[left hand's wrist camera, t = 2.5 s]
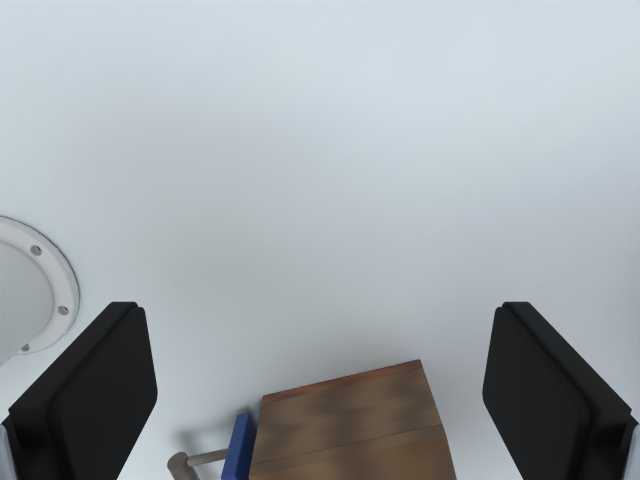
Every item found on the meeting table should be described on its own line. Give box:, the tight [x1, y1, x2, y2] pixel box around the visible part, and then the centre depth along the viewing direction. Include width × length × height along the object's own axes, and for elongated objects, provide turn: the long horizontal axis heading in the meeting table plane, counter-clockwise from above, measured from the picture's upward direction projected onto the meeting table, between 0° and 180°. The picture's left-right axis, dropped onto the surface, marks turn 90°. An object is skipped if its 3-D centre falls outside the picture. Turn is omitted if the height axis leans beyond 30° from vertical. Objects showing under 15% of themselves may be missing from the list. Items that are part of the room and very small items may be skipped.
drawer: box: [167, 413, 257, 480], centre depth 37 cm, size 20×9×7 cm, turn 106°
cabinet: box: [249, 360, 457, 480], centre depth 37 cm, size 15×10×9 cm
